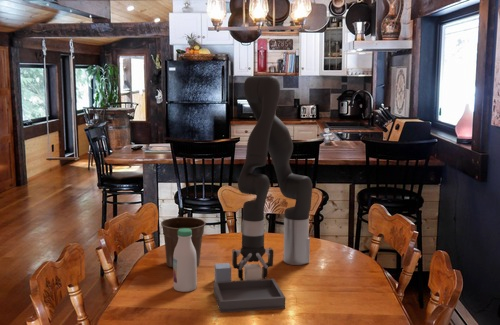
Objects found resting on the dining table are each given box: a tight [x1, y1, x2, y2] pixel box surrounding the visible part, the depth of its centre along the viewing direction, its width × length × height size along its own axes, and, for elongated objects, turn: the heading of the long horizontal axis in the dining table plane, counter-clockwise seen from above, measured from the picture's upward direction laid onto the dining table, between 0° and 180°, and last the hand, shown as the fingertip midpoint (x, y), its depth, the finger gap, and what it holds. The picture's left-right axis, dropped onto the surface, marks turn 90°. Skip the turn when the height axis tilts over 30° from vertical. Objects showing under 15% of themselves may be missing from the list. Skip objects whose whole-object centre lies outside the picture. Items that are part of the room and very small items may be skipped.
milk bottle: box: [172, 228, 198, 293], centre depth 189 cm, size 8×8×20 cm
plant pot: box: [160, 216, 206, 268], centre depth 212 cm, size 16×16×16 cm
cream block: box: [243, 263, 263, 280], centre depth 195 cm, size 5×5×6 cm
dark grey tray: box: [213, 278, 286, 314], centre depth 181 cm, size 20×16×4 cm
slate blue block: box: [214, 262, 232, 282], centre depth 195 cm, size 5×5×6 cm
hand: (252, 278), depth 195 cm, fingers open, 7 cm apart
